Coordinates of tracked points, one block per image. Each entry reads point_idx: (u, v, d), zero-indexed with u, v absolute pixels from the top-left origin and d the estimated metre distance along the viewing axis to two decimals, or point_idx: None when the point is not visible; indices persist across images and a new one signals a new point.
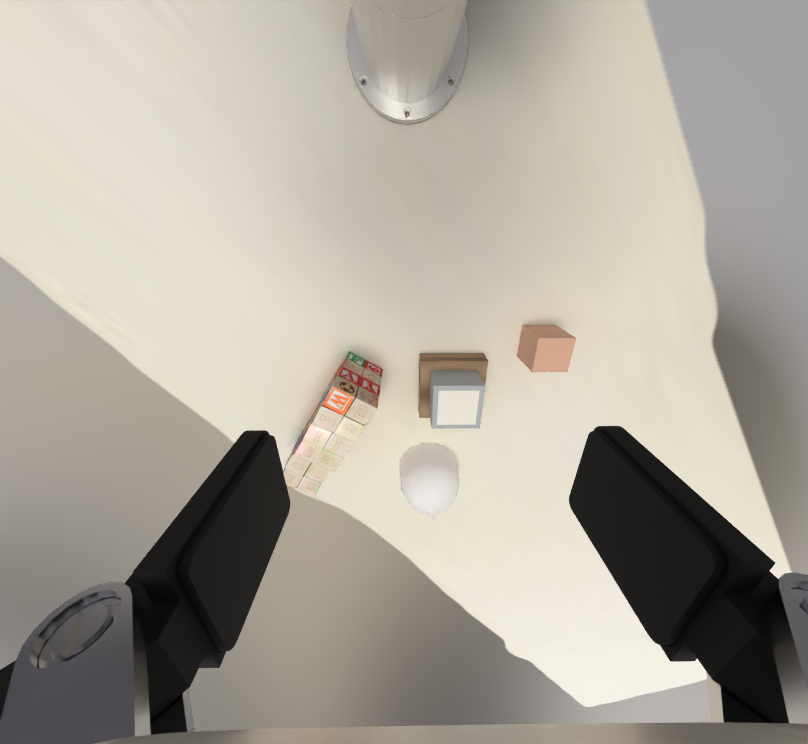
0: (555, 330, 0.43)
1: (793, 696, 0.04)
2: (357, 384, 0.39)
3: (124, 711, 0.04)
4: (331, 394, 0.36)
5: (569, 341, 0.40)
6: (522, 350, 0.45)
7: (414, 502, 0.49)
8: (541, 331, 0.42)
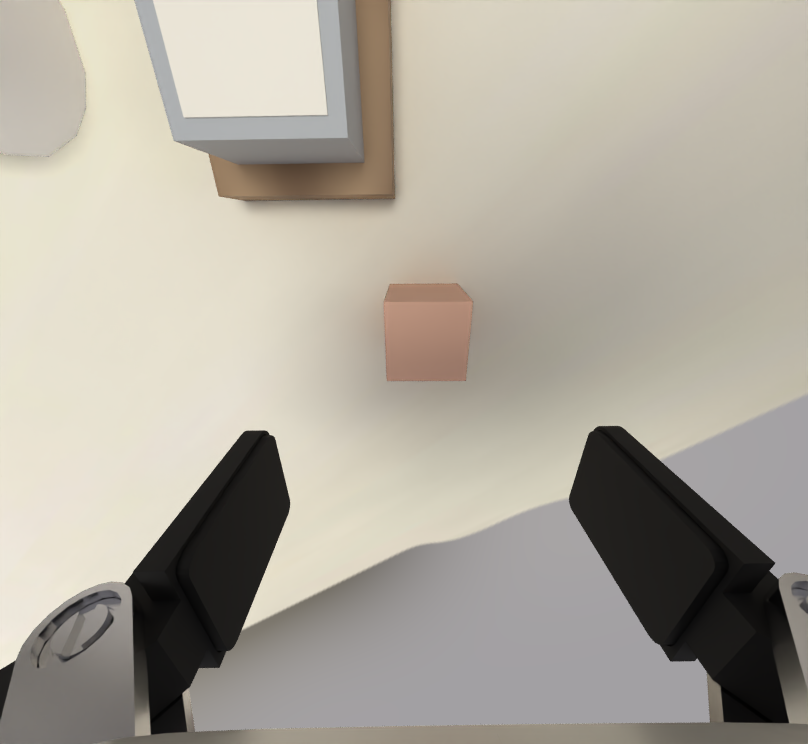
0: None
1: (793, 696, 0.04)
2: None
3: (124, 711, 0.04)
4: None
5: (458, 369, 0.18)
6: (409, 287, 0.21)
7: None
8: None
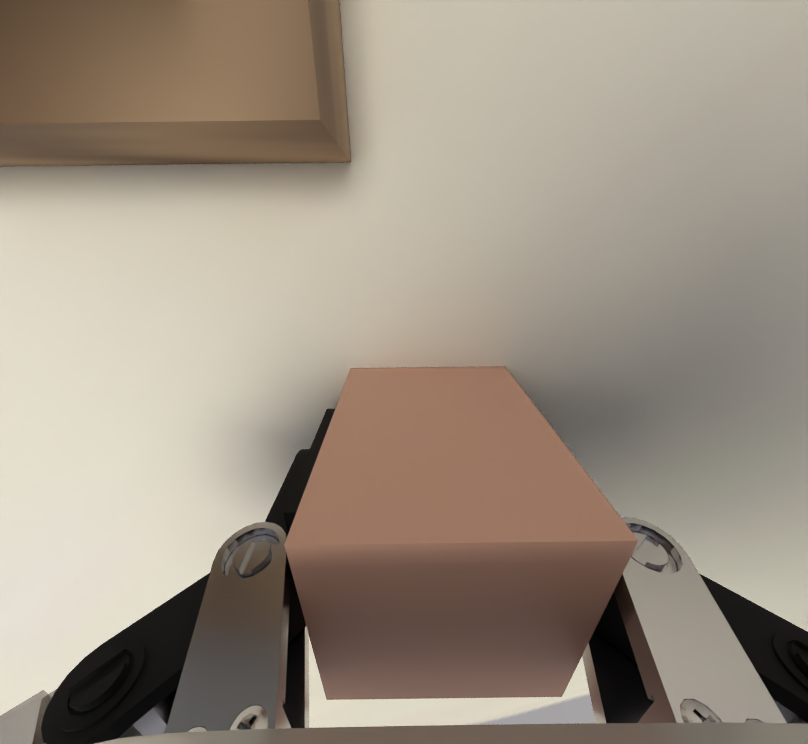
0: None
1: (636, 641, 0.04)
2: None
3: (272, 646, 0.04)
4: None
5: (543, 678, 0.06)
6: (394, 390, 0.08)
7: None
8: None
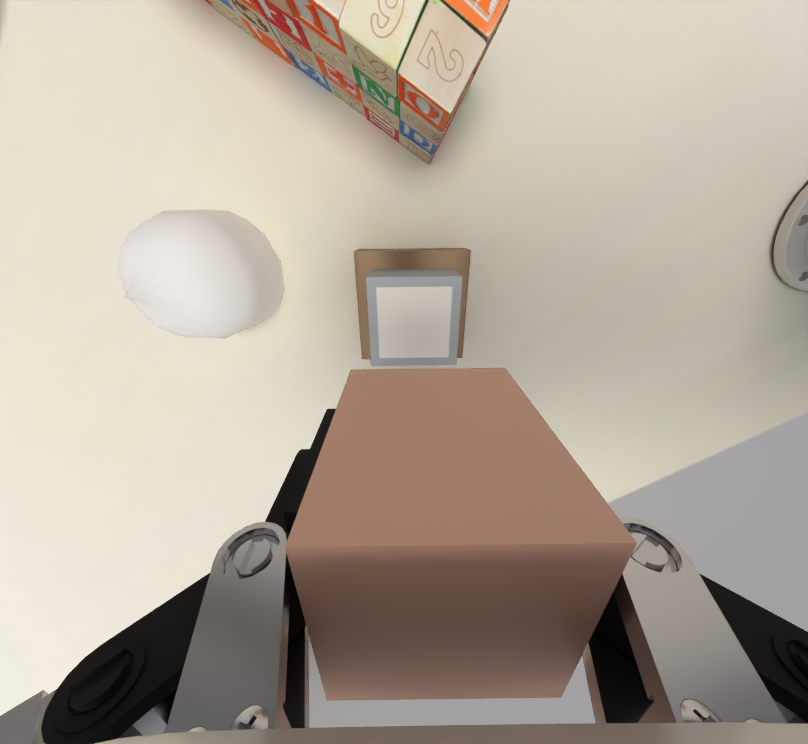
0: None
1: (636, 642, 0.04)
2: (477, 68, 0.16)
3: (273, 647, 0.04)
4: None
5: (543, 680, 0.06)
6: (394, 392, 0.08)
7: (147, 244, 0.20)
8: None
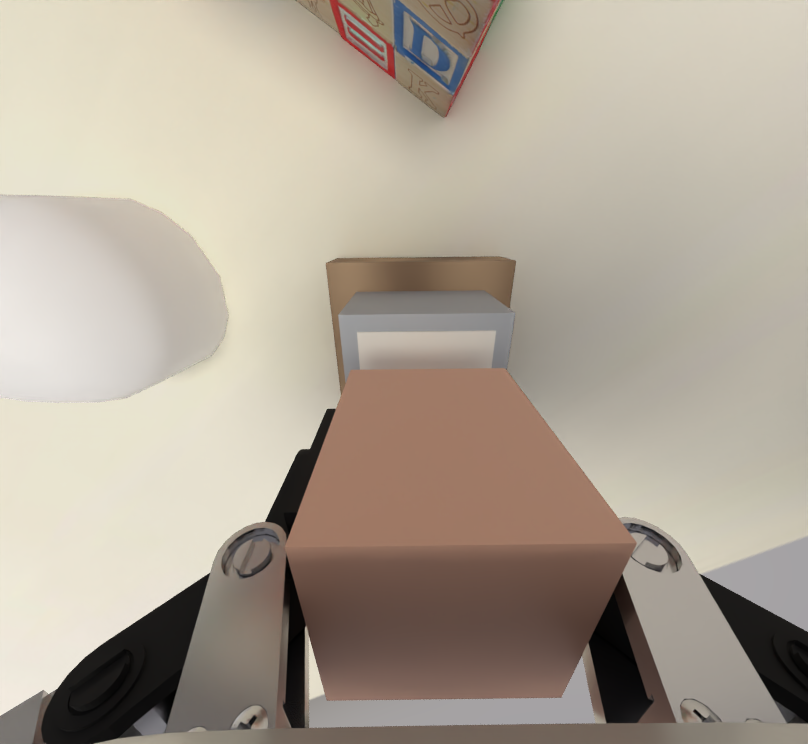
0: None
1: (636, 642, 0.04)
2: None
3: (272, 647, 0.04)
4: None
5: (543, 679, 0.06)
6: (394, 392, 0.08)
7: None
8: None
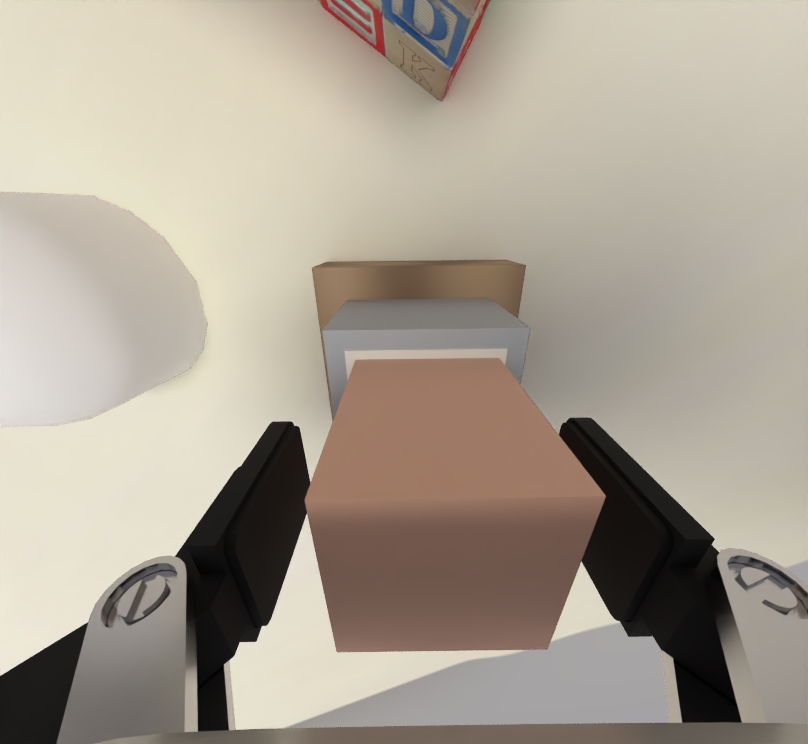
0: None
1: (736, 671, 0.04)
2: None
3: (176, 682, 0.04)
4: None
5: (530, 631, 0.07)
6: (396, 378, 0.09)
7: None
8: None
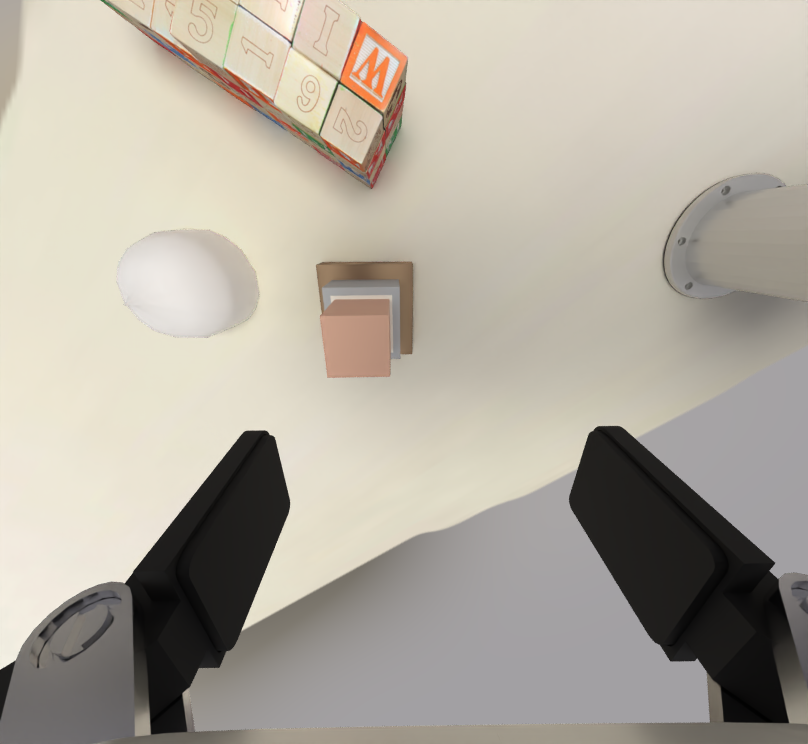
0: None
1: (793, 696, 0.04)
2: (387, 126, 0.21)
3: (124, 711, 0.04)
4: (388, 50, 0.17)
5: (383, 367, 0.24)
6: (348, 302, 0.26)
7: (142, 261, 0.25)
8: (389, 325, 0.25)
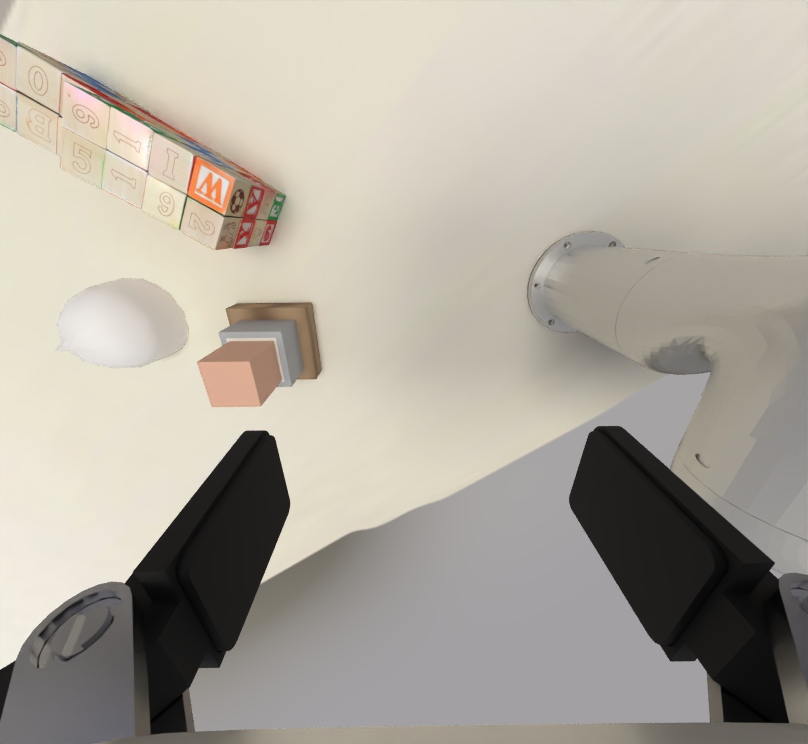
0: (271, 381, 0.33)
1: (793, 696, 0.04)
2: (243, 215, 0.28)
3: (124, 711, 0.04)
4: (219, 174, 0.24)
5: (253, 399, 0.30)
6: (235, 345, 0.32)
7: (74, 313, 0.32)
8: (265, 364, 0.32)
